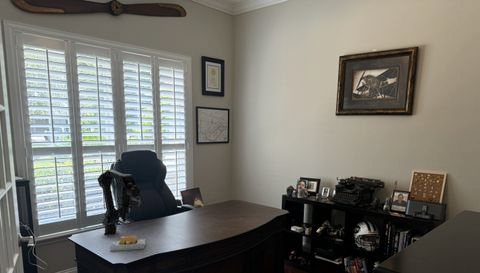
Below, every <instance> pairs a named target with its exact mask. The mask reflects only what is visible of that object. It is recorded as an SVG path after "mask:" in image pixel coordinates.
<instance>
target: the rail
mask: <svg viewBox="0 0 480 273" xmlns="http://www.w3.org/2000/svg"><path fill="white" fill-rule="evenodd" d="M145 246H146V239H145V238H143V239H136V243H135V244H132V241H130V242H125V244H121V242H120V240H113V241H112V242H111V244H110V245H109V252H115V251H130V250H131V251H133V250H134V251H135V250H144V249H145Z"/></svg>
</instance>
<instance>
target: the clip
mask: <svg viewBox="0 0 480 273" xmlns="http://www.w3.org/2000/svg"><path fill="white" fill-rule="evenodd" d="M136 240H137V235H126V236H125V235H123V236H122V235H121V236H120V239H119V241H120V242H121V244H125V242H130V241H132V244H135V243H136Z"/></svg>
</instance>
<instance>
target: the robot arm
mask: <svg viewBox="0 0 480 273" xmlns="http://www.w3.org/2000/svg"><path fill="white" fill-rule="evenodd" d="M114 179H115V180H117V181H118V183H119V184H120V186H119V188H121V189H120V192H121V194H120V195H121V196H120V200H121V201H120V206H119V207H118V208H115V202H114V198H113V193H112V185H113V180H114ZM97 182H98V185H99V187H100V188H101V189H102V193H103V197H104V202H105V209H106V211H105V213H104V218H103V220H102V221H101V224H102V226H104V234H103V235H104V236H107V235H108V236H109V235H110V236H111V235H115V234H116V233H117V232H118V225H117V224H119V223H120V218H121V220H122V222H123V223H126V221H127V218H129V217H130V213H131V209H132V208H133V207H136V208H137V207H138V208H139V207H140V204H141V202H142V201H141V199H140V197H139V196H140V194H141V190H140V188H139V187H138V185H137V184H136V183H137V182H136V181H135V178H134V177H133V175H132V174H131V173H130V174H129V173H127V174H125V173H122V172H119V171H117V170H115V169H107V170H106V171H104V172H103V173H101V174H100V175H99V176H98V177H97Z"/></svg>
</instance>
